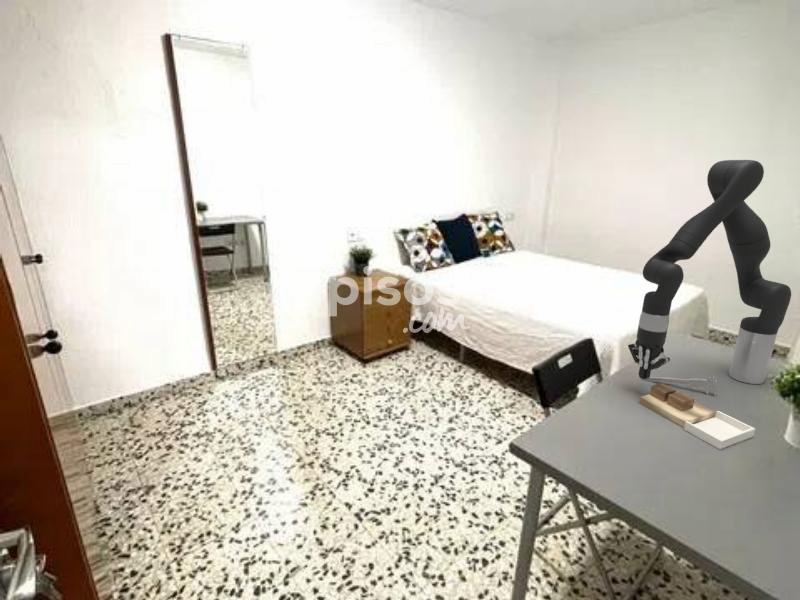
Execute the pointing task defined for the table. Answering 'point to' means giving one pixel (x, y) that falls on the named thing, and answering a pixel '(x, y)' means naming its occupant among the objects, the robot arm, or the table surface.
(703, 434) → the tray
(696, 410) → the beige square panel
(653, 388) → the brown square block
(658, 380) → the caliper
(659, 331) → the robot arm
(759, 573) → the table surface
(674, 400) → the tile front
